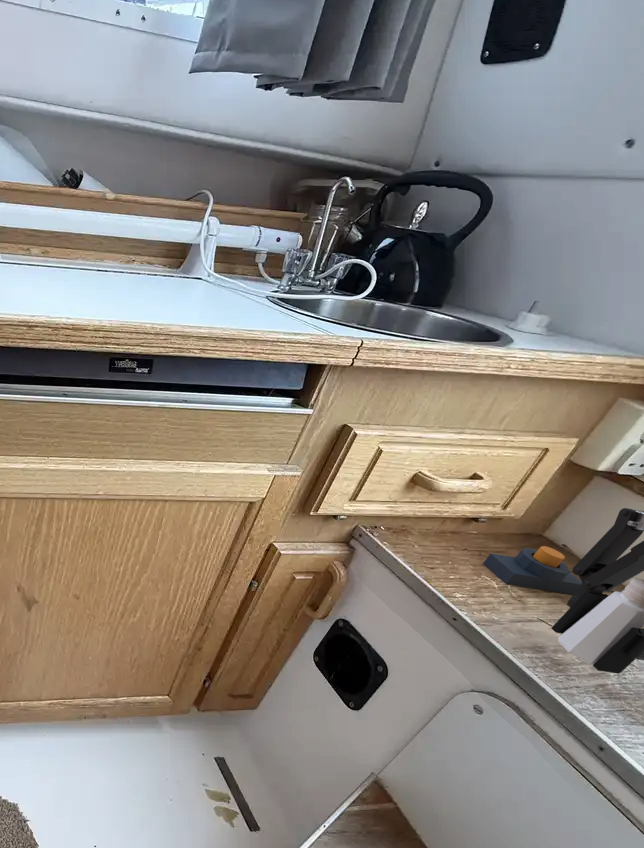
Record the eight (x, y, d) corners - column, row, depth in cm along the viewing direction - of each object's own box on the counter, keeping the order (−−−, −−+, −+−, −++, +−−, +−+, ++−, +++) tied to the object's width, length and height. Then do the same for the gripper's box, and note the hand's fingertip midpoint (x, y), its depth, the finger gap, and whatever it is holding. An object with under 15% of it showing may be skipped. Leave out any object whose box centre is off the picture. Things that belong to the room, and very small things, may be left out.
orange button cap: (544, 557, 87) (553, 547, 86) (561, 570, 85) (570, 559, 84) (527, 554, 87) (536, 544, 86) (542, 567, 85) (552, 556, 84)
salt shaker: (545, 636, 70) (606, 570, 64) (575, 634, 71) (638, 569, 66) (592, 671, 65) (662, 603, 60) (623, 668, 67) (695, 601, 61)
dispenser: (548, 572, 91) (565, 554, 89) (580, 598, 86) (598, 578, 84) (480, 561, 90) (495, 542, 88) (508, 586, 85) (525, 566, 83)
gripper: (622, 447, 64) (499, 594, 76) (819, 544, 48) (625, 710, 60) (681, 457, 65) (550, 602, 76) (896, 556, 49) (689, 719, 61)
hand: (583, 649), depth 68 cm, fingers closed on salt shaker, 5 cm apart
